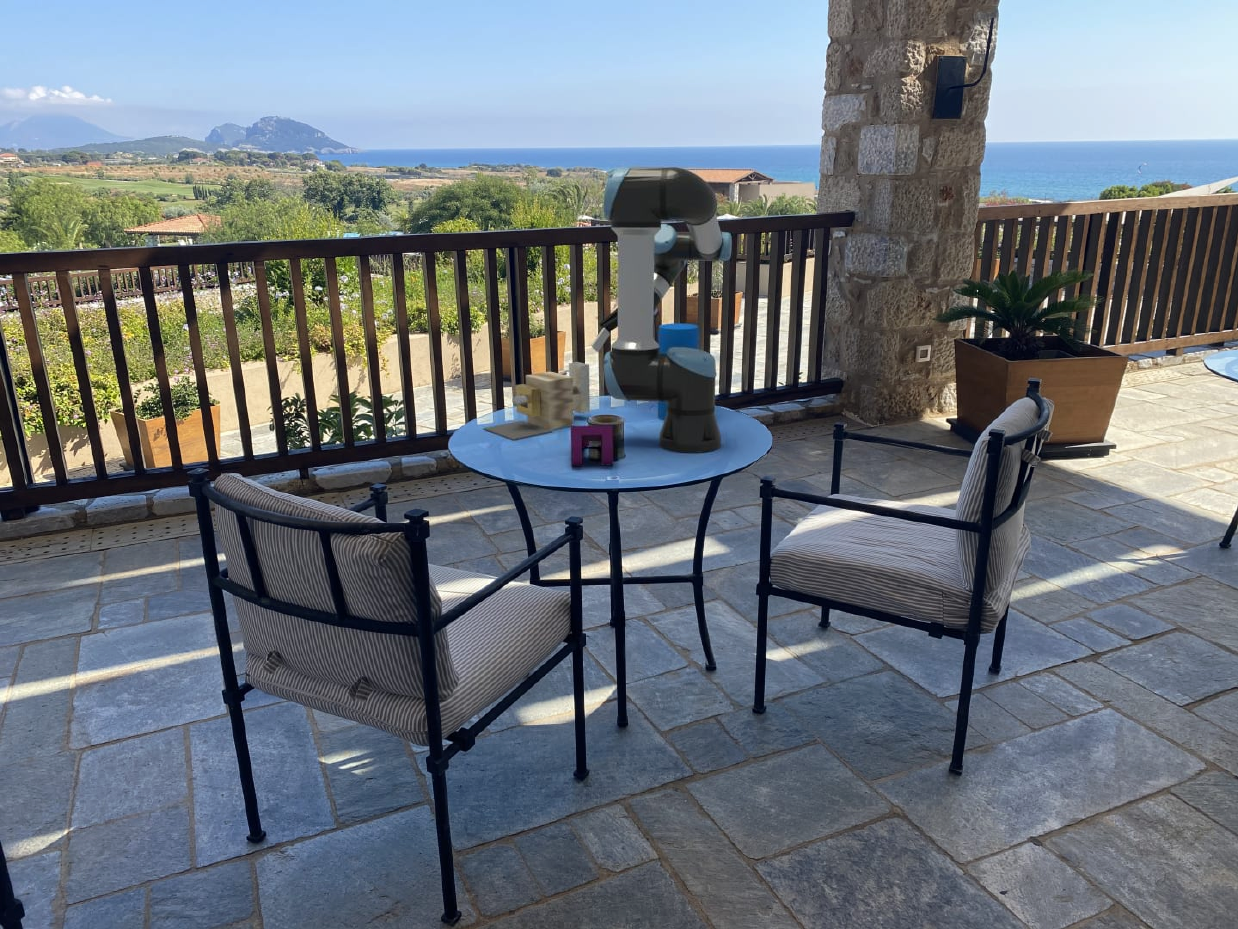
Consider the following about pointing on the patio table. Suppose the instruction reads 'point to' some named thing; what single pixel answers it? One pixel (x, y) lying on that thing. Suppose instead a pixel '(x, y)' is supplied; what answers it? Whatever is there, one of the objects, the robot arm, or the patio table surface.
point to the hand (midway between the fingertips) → (609, 352)
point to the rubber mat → (517, 430)
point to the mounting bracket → (591, 433)
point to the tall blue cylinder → (675, 338)
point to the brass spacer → (529, 400)
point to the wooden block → (553, 400)
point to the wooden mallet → (579, 388)
